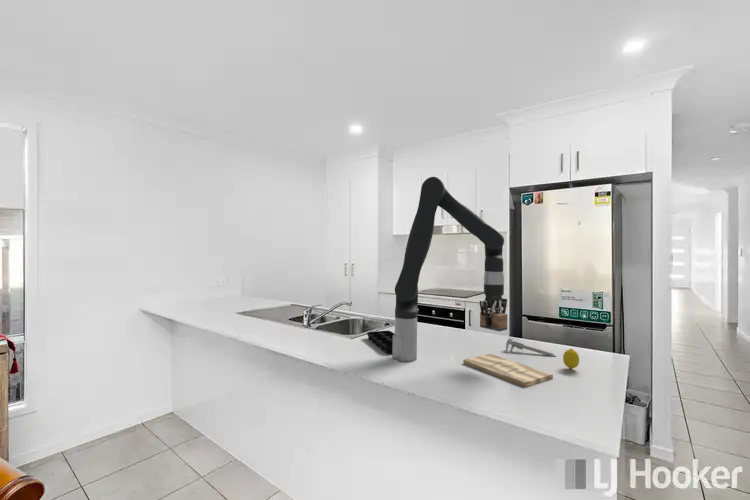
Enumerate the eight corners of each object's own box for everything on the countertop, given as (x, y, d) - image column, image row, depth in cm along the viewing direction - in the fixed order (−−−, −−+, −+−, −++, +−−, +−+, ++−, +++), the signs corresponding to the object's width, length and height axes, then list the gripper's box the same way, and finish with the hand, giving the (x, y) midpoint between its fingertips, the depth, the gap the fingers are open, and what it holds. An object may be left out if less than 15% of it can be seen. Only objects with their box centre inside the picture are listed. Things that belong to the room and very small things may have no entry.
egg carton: (391, 357, 156) (391, 348, 156) (356, 340, 181) (356, 333, 181) (423, 351, 165) (423, 343, 165) (386, 336, 191) (386, 329, 191)
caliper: (506, 351, 167) (506, 337, 167) (506, 350, 168) (506, 336, 168) (556, 357, 158) (556, 342, 158) (556, 356, 159) (556, 342, 159)
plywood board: (524, 387, 124) (525, 382, 124) (463, 363, 148) (463, 359, 148) (552, 378, 133) (552, 374, 133) (490, 357, 156) (490, 353, 156)
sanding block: (507, 329, 143) (507, 314, 143) (499, 331, 141) (499, 315, 140) (487, 325, 151) (488, 310, 151) (480, 327, 148) (480, 312, 148)
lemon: (577, 367, 144) (578, 347, 144) (580, 372, 139) (580, 351, 139) (561, 366, 146) (562, 346, 146) (563, 370, 141) (564, 349, 141)
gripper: (497, 280, 152) (497, 322, 153) (473, 282, 145) (473, 326, 145) (513, 282, 146) (513, 325, 146) (489, 284, 138) (488, 330, 139)
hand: (493, 325), depth 146 cm, fingers closed on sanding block, 5 cm apart
